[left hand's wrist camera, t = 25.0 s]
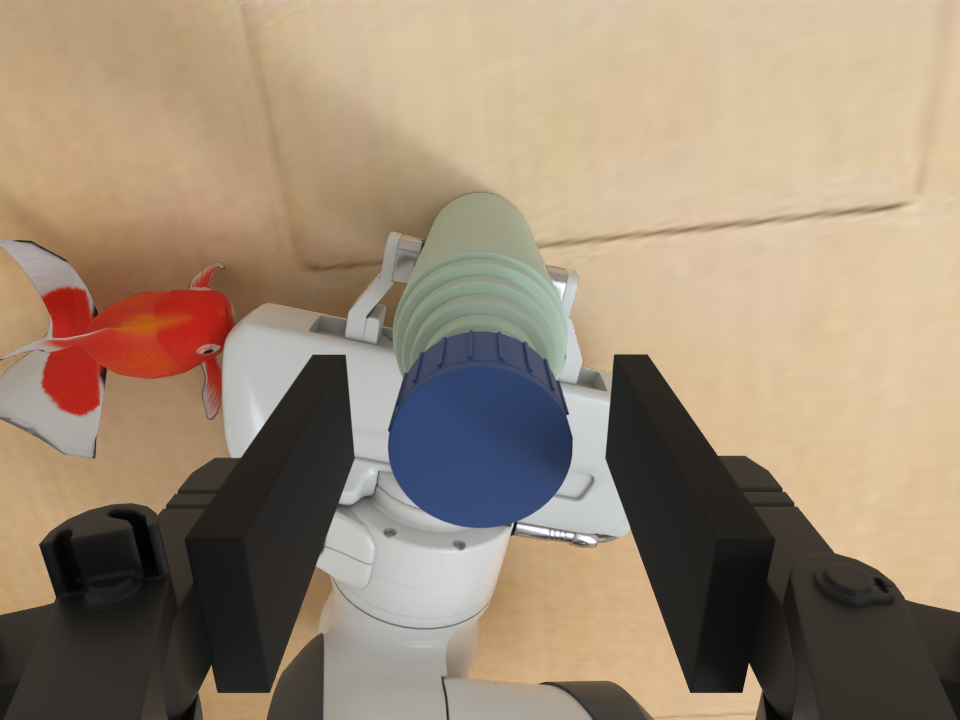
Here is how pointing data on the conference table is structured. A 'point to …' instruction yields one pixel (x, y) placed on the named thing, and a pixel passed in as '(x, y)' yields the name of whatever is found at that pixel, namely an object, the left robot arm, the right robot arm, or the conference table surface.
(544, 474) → the cap
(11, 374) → the fish
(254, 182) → the conference table surface
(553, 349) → the bottle
